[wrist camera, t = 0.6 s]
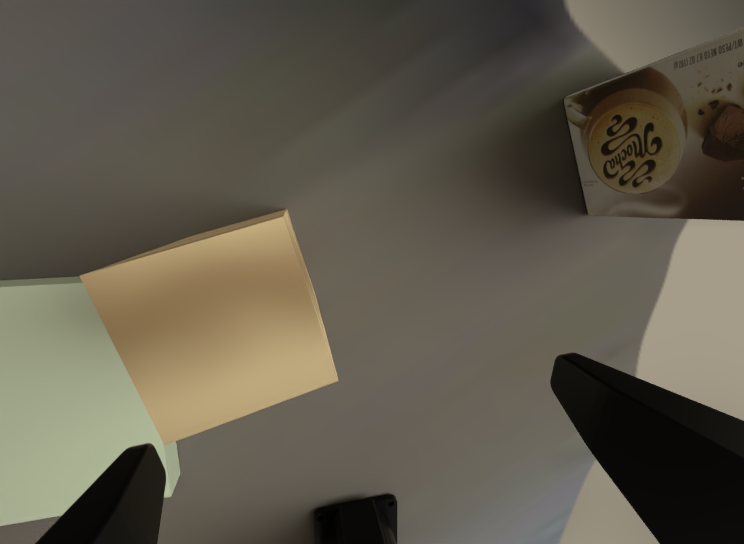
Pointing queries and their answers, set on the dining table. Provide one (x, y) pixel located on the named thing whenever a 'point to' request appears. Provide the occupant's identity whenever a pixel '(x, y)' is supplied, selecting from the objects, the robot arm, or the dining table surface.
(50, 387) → the sage baseplate
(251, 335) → the oak brick
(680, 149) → the coffee box
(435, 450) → the dining table surface
